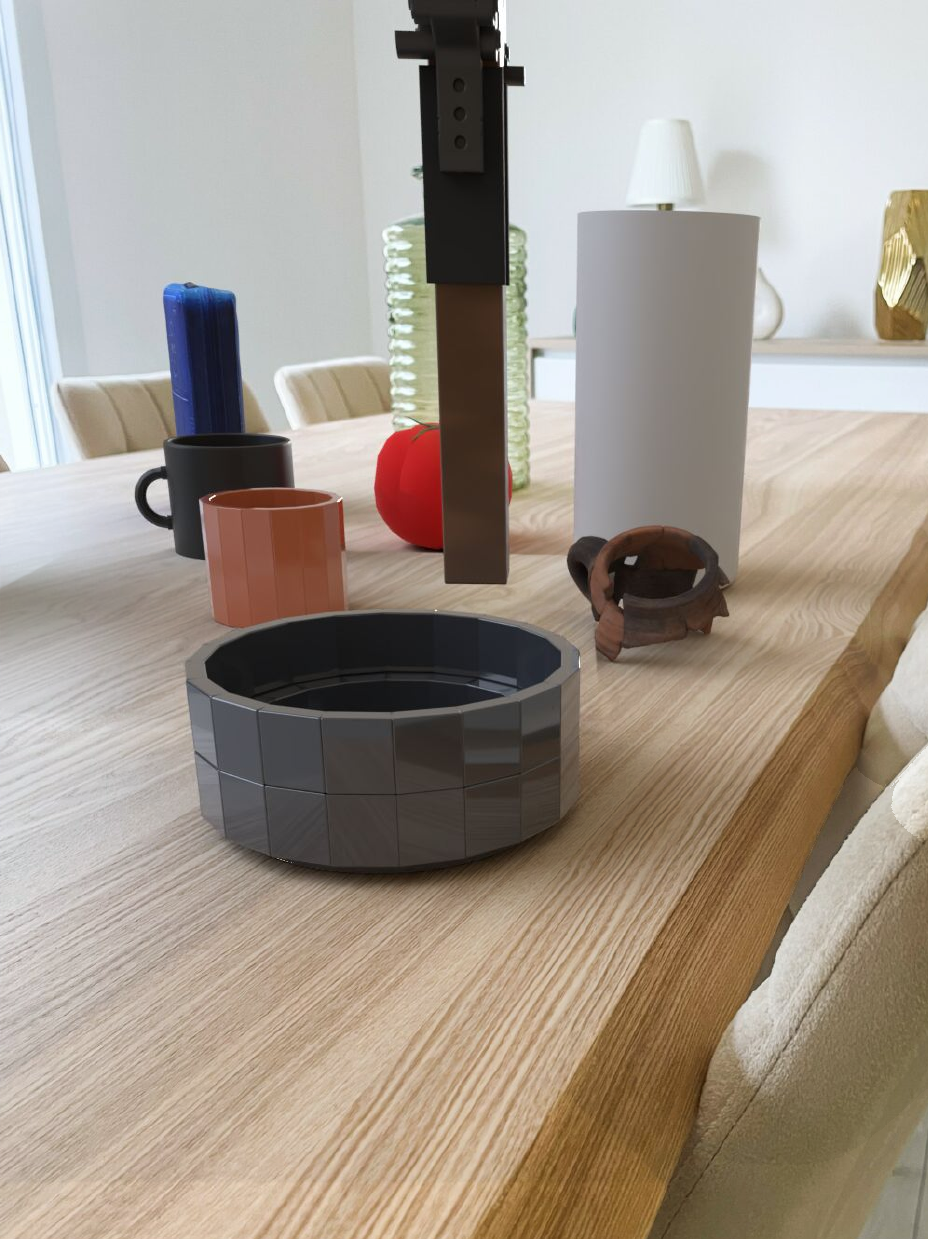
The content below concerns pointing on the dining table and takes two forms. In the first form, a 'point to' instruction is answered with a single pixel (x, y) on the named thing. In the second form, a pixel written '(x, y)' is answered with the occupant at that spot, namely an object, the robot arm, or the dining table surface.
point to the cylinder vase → (664, 373)
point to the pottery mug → (648, 586)
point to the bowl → (385, 736)
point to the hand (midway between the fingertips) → (469, 283)
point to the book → (204, 359)
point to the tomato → (413, 485)
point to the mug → (212, 478)
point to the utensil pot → (273, 554)
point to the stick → (474, 423)
